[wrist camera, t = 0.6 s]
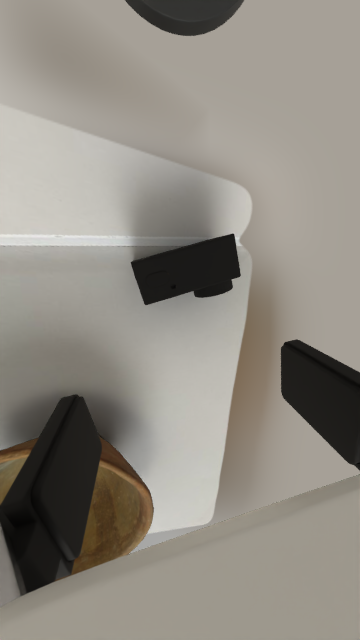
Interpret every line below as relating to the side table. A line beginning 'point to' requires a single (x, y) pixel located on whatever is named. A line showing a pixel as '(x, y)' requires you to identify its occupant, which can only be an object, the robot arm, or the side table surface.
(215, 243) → the digital camera
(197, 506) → the side table surface
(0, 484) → the bowl
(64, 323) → the side table surface
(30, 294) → the side table surface
